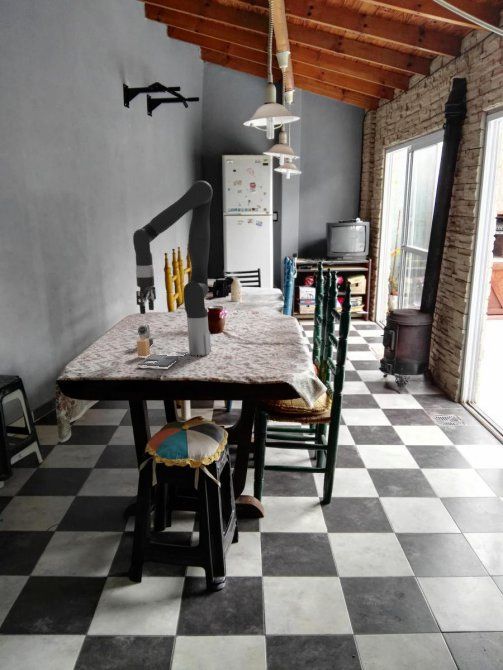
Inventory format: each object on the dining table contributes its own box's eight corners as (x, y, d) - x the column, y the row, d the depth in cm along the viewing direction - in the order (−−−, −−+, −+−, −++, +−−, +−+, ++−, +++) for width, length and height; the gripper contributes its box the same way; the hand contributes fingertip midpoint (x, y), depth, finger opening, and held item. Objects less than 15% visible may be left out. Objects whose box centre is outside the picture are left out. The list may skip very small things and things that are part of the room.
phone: (161, 353, 238) (161, 350, 238) (188, 354, 235) (188, 351, 235) (156, 356, 233) (156, 354, 233) (183, 358, 230) (183, 355, 229)
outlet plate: (178, 360, 224) (178, 355, 224) (167, 369, 212) (166, 364, 212) (151, 359, 228) (150, 354, 227) (138, 368, 215) (137, 363, 215)
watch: (137, 348, 245) (135, 326, 242) (143, 344, 253) (142, 322, 250) (148, 348, 244) (146, 326, 241) (154, 344, 252) (152, 322, 249)
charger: (150, 356, 232) (148, 338, 230) (146, 358, 229) (144, 340, 227) (142, 355, 233) (140, 338, 231) (138, 358, 230) (136, 340, 227)
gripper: (145, 278, 216) (148, 315, 220) (159, 273, 229) (161, 309, 234) (129, 277, 218) (132, 314, 222) (144, 273, 231) (146, 308, 235)
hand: (147, 311), depth 228 cm, fingers open, 8 cm apart
